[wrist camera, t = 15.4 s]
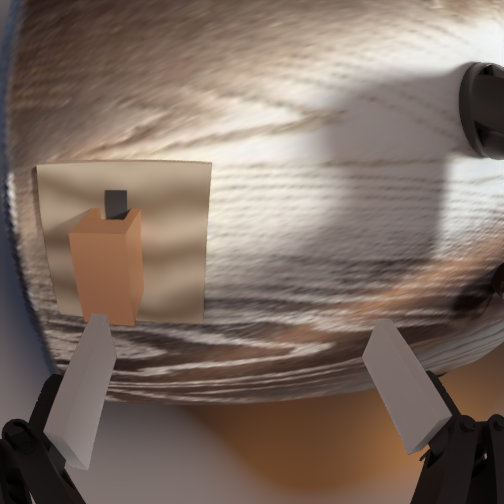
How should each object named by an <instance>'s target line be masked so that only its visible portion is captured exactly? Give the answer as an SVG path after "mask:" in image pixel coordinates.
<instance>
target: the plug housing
mask: <svg viewBox="0 0 504 504" xmlns="http://www.w3.org/2000/svg"><path fill="white" fill-rule="evenodd" d="M69 240H70V248H71V255H72V261H73V267H74V273H75V279H76V284H77V289H78V294H79V299H80V304H81V308H82V313H83V317H84V321H85V322H88V321H89V319H90V317H91V315H92V313H93V314H103V315H107V317H108V322H109V324H114V325H128V326H135V322H136V318H137V314H138V310H139V306H140V302H141V299H142V295H143V291H144V280H143V264H142V244H141V209H131V210H130V212H129V213H128V215H127V216H126V218H125V219H124V220H105V219H101V208H92V209H91V210H90V211H89V212H88V213H87V214H86V215H85V216H84V217H83V218H82V219H81V220H80V221H79V222H78V223H77V224H76V225H75V226H74V227H73V228H72V230H71V231H70V232H69Z"/></svg>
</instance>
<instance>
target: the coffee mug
mask: <svg viewBox="0 0 504 504" xmlns="http://www.w3.org/2000/svg"><path fill="white" fill-rule="evenodd" d="M492 287H493V289H494V290H495V291H496V292H497V293H498V294H499V295H500V297H501V298H502V299H503V300H504V263H503V264H502V265H501V266H500V267H499V268H498V269H497V271H496V273H495V275H494V277H493V280H492Z"/></svg>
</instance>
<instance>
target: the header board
mask: <svg viewBox="0 0 504 504" xmlns="http://www.w3.org/2000/svg"><path fill="white" fill-rule="evenodd" d="M211 170H212V162H200V161H175V160H83V161H60V162H43V163H40V164H38V165H37V180H38V193H39V204H40V213H41V221H42V228H43V235H44V241H45V248H46V253H47V259H48V264H49V269H50V274H51V279H52V283H53V287H54V292H55V296H56V300H57V304H58V308H59V311H60V314H63V315H73V316H83V313H82V308H81V304H80V299H79V294H78V289H77V284H76V279H75V273H74V267H73V261H72V255H71V248H70V240H69V232H70V231H71V230H72V228H73V227H74V226H75V225H76V224H77V223H78V222H79V221H80V220H81V219H82V218H83V217H84V216H85V215H86V214H87V213H88V212H89V211H90V210H91V209H92V208H101V219H105V220H124V219H125V218H126V216H127V215H128V213H129V212H130V210H131V209H141V244H142V264H143V280H144V291H143V295H142V299H141V302H140V306H139V310H138V314H137V318H136V321H149V322H170V323H199V324H203V315H204V286H205V263H206V244H207V226H208V211H209V196H210V182H211Z"/></svg>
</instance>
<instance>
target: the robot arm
mask: <svg viewBox="0 0 504 504" xmlns="http://www.w3.org/2000/svg"><path fill="white" fill-rule="evenodd" d="M459 105H460V115H461V121H462V125H463V128H464V131H465V134H466V136H467V139H468V141H469V142H470V144H471V145H472V147H473V148H474V149H475V150H476V151H477V152H478V153H479V154H481V155H483V156H485V157H488V158H491V159H495V160H504V67H502V66H500V65H498V64H494V63H476V64H474V65H472V66H471V67H470V68H469V69H468V70H467V72H466V74H465V76H464V78H463V80H462V84H461V89H460V99H459ZM116 357H117V356H116V353H115V348H114V344H113V340H112V336H111V331H110V327H109V322H108V317H107V315H103V314H93V313H92V315H91V317H90V319H89V321H88V323H87V325H86V327H85V330H84V332H83V334H82V336H81V338H80V340H79V343H78V345H77V347H76V349H75V352H74V354H73V356H72V358H71V361H70V363H69V365H68V368H67V370H66V373H65V375H64V376H62V375H57V374H52V375H51V376H50V377H49V378H48V380H46V381H45V383H44V386H43V388H42V390H41V393H40V395H39V397H38V401H37V402H36V405H35V407H34V410H33V412H32V415H31V417H30V420H29V423H27V422H26V421H24V420H21V419H12V420H10V421H9V422H7V423H6V424H5V426H4V427H3V430H2V439H0V504H32V500H31V496H30V493H31V495H32V497H33V499H34V501H35V503H36V504H86V503H85V501H84V500H83V498H82V496H81V495H80V493H79V492H78V490H77V488H76V487H75V485H74V483H73V482H72V480H71V478H70V477H69V475H68V473H67V471H66V470H65V468H64V466H65V462H66V461H67V462H68V463H69V465H70V466H71V467H75V468H79V469H84V470H88V468H89V463H90V458H91V454H92V448H93V444H94V440H95V436H96V431H97V427H98V423H99V419H100V415H101V411H102V407H103V403H104V399H105V396H106V392H107V388H108V385H109V381H110V378H111V374H112V371H113V367H114V364H115V361H116ZM362 359H363V361H364V363H365V365H366V367H367V369H368V371H369V373H370V375H371V377H372V379H373V381H374V383H375V385H376V387H377V389H378V391H379V393H380V396H381V398H382V400H383V402H384V404H385V406H386V408H387V410H388V412H389V414H390V416H391V418H392V420H393V423H394V425H395V427H396V429H397V431H398V433H399V436H400V438H401V440H402V442H403V444H404V446H405V449H406V451H407V453H408V455H410V454H413V453H415V452H418V451H421V450H422V449H423V448H424V447H425V446H426V445H427V444H428V445H429V446H430V449H429V450H428V451H427V452H426V453H425V454H424V455H423V456H422V457H421V458H420V460H419V461H422V460H423V459H424V458H425V457H426V458H425V461H424V465H423V468H422V471H421V474H420V477H419V480H418V484H417V486H416V489H415V492H414V495H413V498H412V501H411V503H410V504H504V417H503V416H501V415H498V414H495V415H492V416H491V417H490V418H489V419H488V421H484V422H483V421H482V422H476V421H475V420H474V419H473V418H471V417H470V416H467V415H461V413H460V412H459V410H458V409H457V407H456V405H455V404H454V402H453V401H452V399H451V397H450V396H449V394H448V393H447V392H446V390H445V388H444V386H442V383H441V382H440V380H439V379H438V377H437V376H436V375H435V374H433V373H432V372H431V371H430V370H428V371H425V370H424V369H423V367H422V366H421V364H420V363H419V361H418V360H417V358H416V357H415V355H414V354H413V352H412V351H411V349H410V348H409V346H408V345H407V343H406V342H405V340H404V339H403V337H402V336H401V334H400V333H399V331H398V330H397V329H396V327H395V326H394V324H393V323H392V321H391V320H390V319H377V322H376V324H375V327H374V330H373V332H372V335H371V337H370V339H369V342H368V344H367V347H366V349H365V351H364V354H363V356H362ZM486 453H487V459H485V457H484V455H485V454H486Z"/></svg>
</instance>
